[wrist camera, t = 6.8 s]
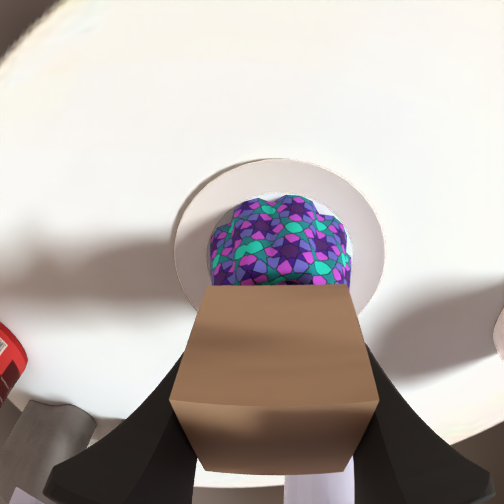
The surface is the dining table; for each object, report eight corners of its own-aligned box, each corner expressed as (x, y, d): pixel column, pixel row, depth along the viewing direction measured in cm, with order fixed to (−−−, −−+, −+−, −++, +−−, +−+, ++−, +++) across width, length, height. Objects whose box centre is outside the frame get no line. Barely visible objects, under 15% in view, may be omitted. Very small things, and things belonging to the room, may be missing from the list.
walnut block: (332, 374, 13) (343, 471, 8) (223, 374, 13) (205, 470, 9) (346, 283, 10) (379, 399, 6) (206, 285, 11) (169, 399, 7)
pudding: (334, 117, 13) (363, 126, 9) (401, 298, 18) (428, 355, 13) (140, 219, 17) (95, 264, 12) (240, 356, 21) (231, 416, 17)
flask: (49, 421, 34) (7, 514, 17) (24, 398, 32) (-25, 494, 14) (108, 430, 31) (63, 554, 13) (79, 404, 28) (22, 536, 11)
